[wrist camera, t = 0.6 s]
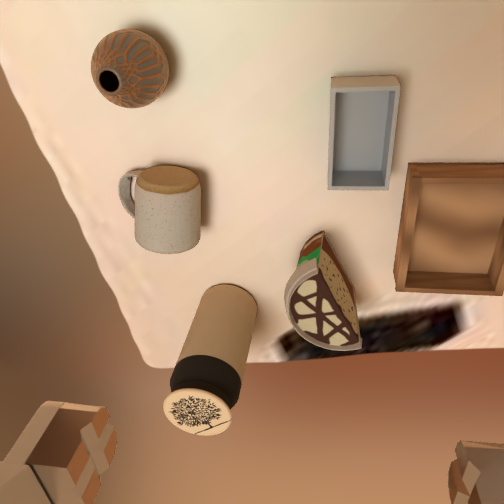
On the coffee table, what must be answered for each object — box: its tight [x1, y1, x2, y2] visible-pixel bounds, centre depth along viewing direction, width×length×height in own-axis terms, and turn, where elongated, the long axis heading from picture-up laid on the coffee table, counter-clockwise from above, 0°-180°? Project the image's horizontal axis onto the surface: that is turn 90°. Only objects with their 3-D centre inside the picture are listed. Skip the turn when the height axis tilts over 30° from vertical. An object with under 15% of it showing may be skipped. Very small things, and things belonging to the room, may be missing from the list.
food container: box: [284, 231, 362, 351], centre depth 51 cm, size 12×6×10 cm, turn 30°
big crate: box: [393, 163, 504, 296], centre depth 48 cm, size 14×12×4 cm
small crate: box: [328, 75, 401, 190], centre depth 43 cm, size 10×6×4 cm, turn 3°
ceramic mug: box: [119, 165, 201, 254], centre depth 50 cm, size 11×8×8 cm
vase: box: [91, 29, 169, 108], centre depth 41 cm, size 7×7×9 cm
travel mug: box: [163, 284, 257, 435], centre depth 54 cm, size 8×8×18 cm
